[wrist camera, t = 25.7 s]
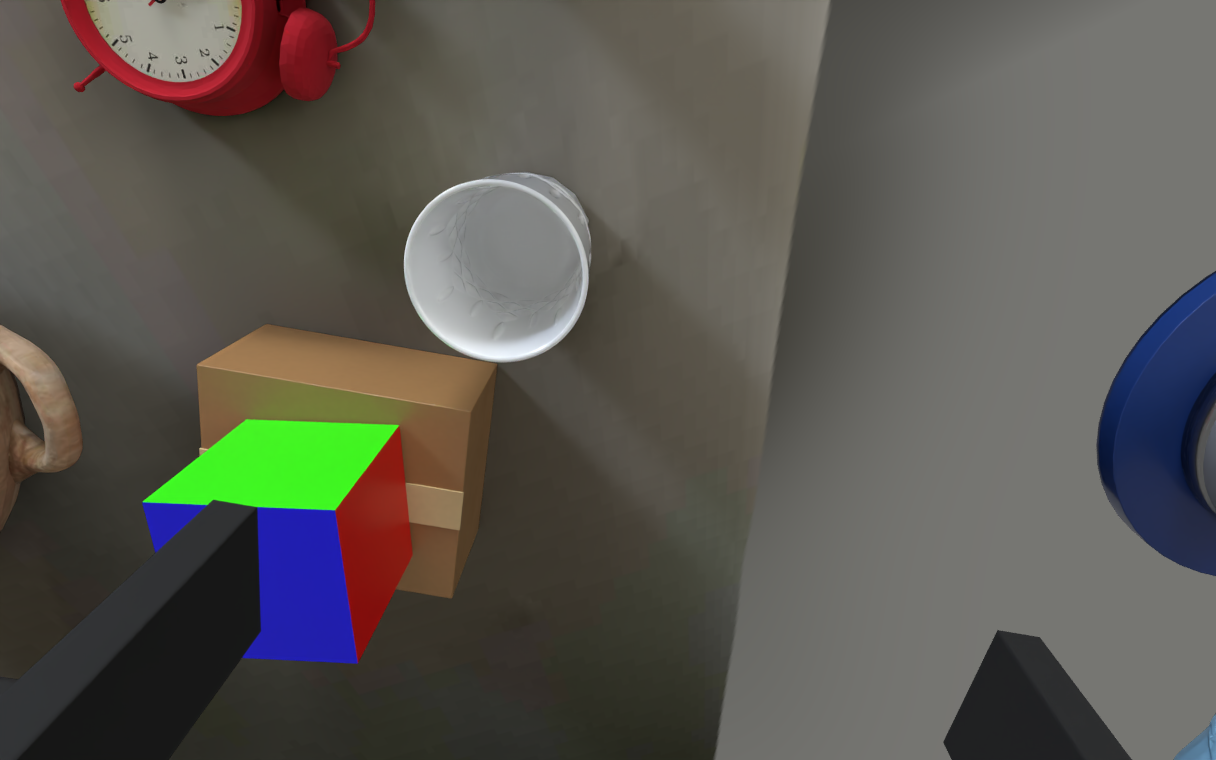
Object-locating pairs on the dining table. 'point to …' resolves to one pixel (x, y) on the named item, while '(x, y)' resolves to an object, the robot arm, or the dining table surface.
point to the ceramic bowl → (13, 451)
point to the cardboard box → (372, 394)
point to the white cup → (500, 265)
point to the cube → (306, 527)
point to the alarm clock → (211, 49)
